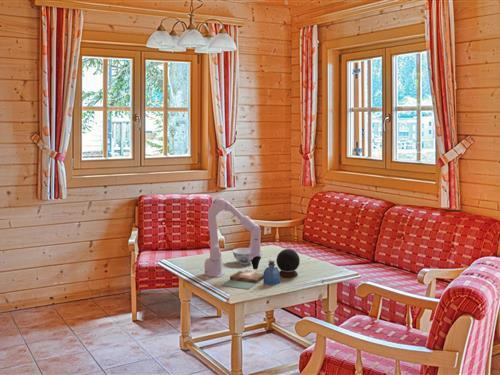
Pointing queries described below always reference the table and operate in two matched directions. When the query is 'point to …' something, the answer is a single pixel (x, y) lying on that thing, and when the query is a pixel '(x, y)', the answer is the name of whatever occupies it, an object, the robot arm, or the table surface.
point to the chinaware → (242, 255)
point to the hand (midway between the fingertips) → (255, 269)
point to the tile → (247, 274)
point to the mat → (238, 284)
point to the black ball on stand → (288, 263)
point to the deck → (253, 279)
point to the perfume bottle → (271, 274)
